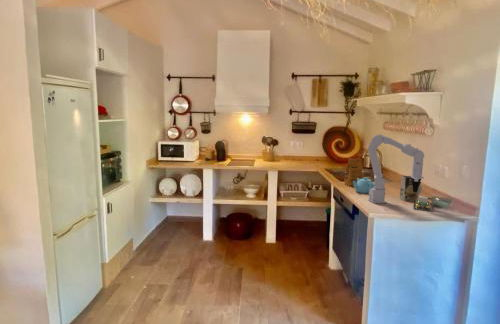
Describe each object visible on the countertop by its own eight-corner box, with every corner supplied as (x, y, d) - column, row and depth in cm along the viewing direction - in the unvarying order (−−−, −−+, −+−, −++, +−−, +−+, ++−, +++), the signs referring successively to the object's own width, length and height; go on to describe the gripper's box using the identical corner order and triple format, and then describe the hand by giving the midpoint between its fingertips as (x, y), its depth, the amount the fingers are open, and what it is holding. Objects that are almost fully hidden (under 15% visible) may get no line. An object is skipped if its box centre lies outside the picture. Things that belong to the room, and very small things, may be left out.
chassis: (432, 211, 195) (432, 204, 195) (413, 209, 200) (414, 202, 199) (431, 206, 207) (431, 199, 206) (413, 204, 211) (414, 197, 211)
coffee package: (343, 183, 270) (344, 157, 267) (357, 183, 271) (359, 157, 268) (347, 186, 260) (349, 159, 257) (362, 186, 261) (364, 159, 258)
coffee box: (403, 201, 219) (405, 177, 217) (399, 198, 225) (401, 175, 223) (417, 201, 219) (419, 177, 217) (412, 198, 226) (414, 175, 223)
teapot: (350, 192, 242) (351, 177, 240) (356, 188, 254) (357, 174, 253) (372, 195, 234) (373, 180, 232) (377, 191, 246) (378, 177, 244)
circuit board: (429, 206, 197) (429, 199, 197) (416, 204, 200) (416, 198, 200) (428, 202, 206) (429, 196, 205) (416, 200, 209) (416, 194, 208)
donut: (419, 195, 235) (421, 181, 233) (422, 196, 231) (423, 182, 230) (405, 195, 235) (406, 181, 233) (407, 196, 232) (408, 182, 230)
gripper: (424, 171, 196) (422, 194, 198) (424, 168, 208) (422, 189, 210) (411, 170, 199) (409, 192, 201) (412, 167, 212) (410, 188, 214)
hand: (415, 190), depth 206 cm, fingers open, 7 cm apart
